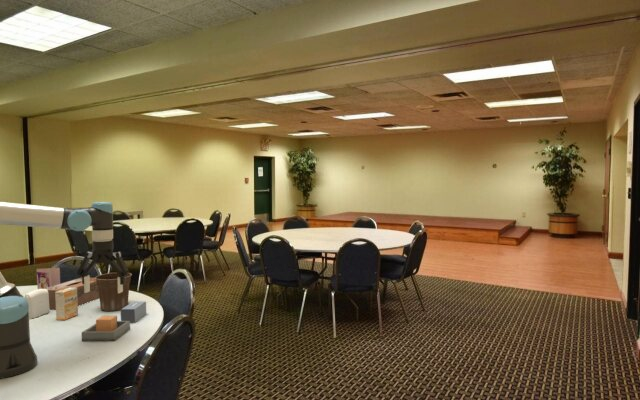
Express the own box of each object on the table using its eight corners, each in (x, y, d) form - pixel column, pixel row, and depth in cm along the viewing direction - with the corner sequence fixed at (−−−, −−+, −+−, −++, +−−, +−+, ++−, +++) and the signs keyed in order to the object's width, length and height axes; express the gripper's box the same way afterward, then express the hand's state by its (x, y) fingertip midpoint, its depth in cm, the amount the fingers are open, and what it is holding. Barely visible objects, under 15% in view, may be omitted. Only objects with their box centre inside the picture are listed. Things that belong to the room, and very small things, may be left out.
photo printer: (30, 319, 191) (29, 292, 191) (23, 318, 193) (22, 292, 192) (51, 312, 201) (50, 287, 201) (44, 311, 203) (43, 286, 202)
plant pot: (130, 300, 219) (129, 270, 218) (135, 309, 205) (134, 276, 204) (95, 306, 210) (93, 274, 209) (97, 315, 196) (96, 281, 195)
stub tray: (114, 340, 165) (114, 332, 164) (81, 341, 165) (81, 332, 165) (130, 328, 178) (129, 320, 177) (99, 329, 178) (99, 321, 178)
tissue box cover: (83, 295, 232) (82, 277, 232) (105, 296, 229) (104, 278, 228) (42, 309, 207) (41, 289, 207) (65, 311, 204) (64, 291, 203)
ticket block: (134, 322, 185) (134, 309, 185) (121, 322, 185) (120, 309, 185) (146, 313, 197) (146, 301, 197) (133, 314, 197) (133, 301, 197)
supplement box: (65, 320, 189) (63, 292, 188) (55, 320, 190) (54, 291, 189) (78, 314, 197) (77, 287, 197) (70, 314, 198) (68, 287, 197)
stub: (111, 334, 169) (110, 319, 169) (96, 334, 169) (95, 319, 169) (117, 329, 174) (116, 315, 174) (103, 329, 174) (102, 315, 174)
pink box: (36, 296, 230) (34, 269, 229) (49, 292, 237) (48, 266, 236) (50, 298, 226) (48, 270, 225) (63, 294, 232) (62, 267, 232)
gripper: (137, 239, 173) (138, 290, 173) (77, 238, 173) (78, 289, 174) (129, 241, 165) (129, 295, 166) (66, 241, 166) (67, 294, 166)
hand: (103, 292), depth 170 cm, fingers open, 13 cm apart
